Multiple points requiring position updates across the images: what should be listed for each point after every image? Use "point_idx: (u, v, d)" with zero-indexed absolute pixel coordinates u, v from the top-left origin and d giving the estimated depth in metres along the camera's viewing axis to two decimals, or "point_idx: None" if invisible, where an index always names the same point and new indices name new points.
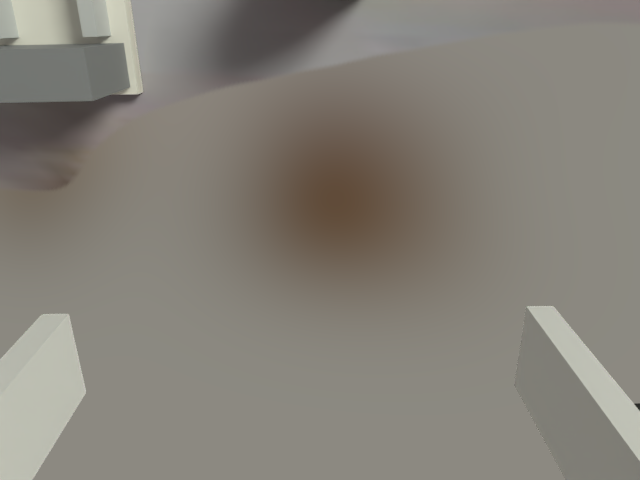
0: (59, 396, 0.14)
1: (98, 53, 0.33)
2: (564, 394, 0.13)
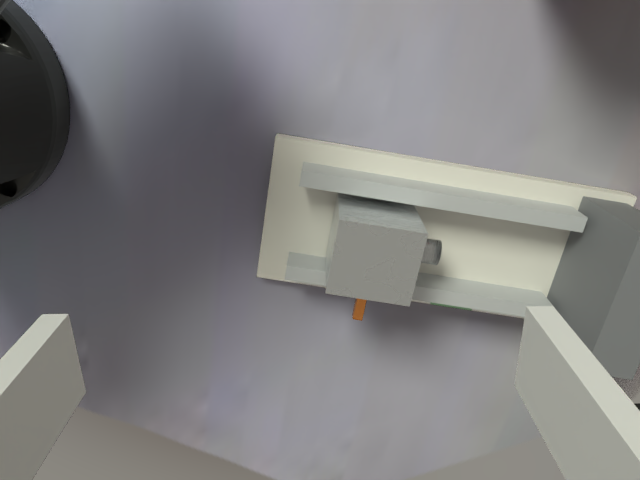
0: (59, 396, 0.14)
1: (628, 221, 0.31)
2: (563, 394, 0.13)
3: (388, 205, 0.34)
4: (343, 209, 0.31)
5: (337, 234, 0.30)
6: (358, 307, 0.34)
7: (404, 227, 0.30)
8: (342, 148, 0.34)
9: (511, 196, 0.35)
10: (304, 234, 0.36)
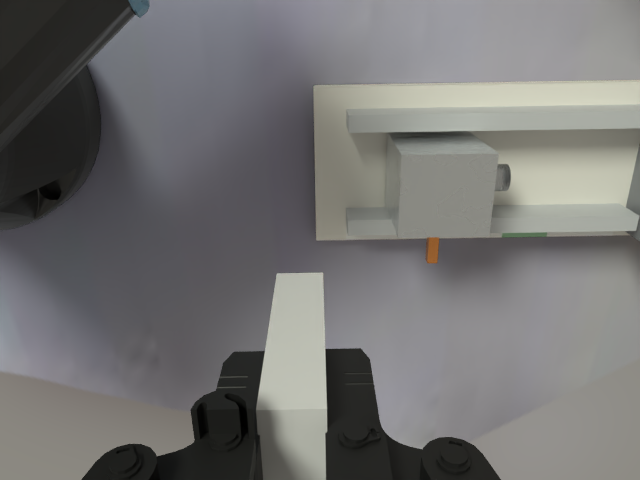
0: None
1: None
2: None
3: (445, 136, 0.31)
4: (401, 146, 0.29)
5: (401, 171, 0.28)
6: (431, 249, 0.32)
7: (471, 151, 0.28)
8: (385, 87, 0.32)
9: (573, 105, 0.33)
10: (359, 186, 0.35)
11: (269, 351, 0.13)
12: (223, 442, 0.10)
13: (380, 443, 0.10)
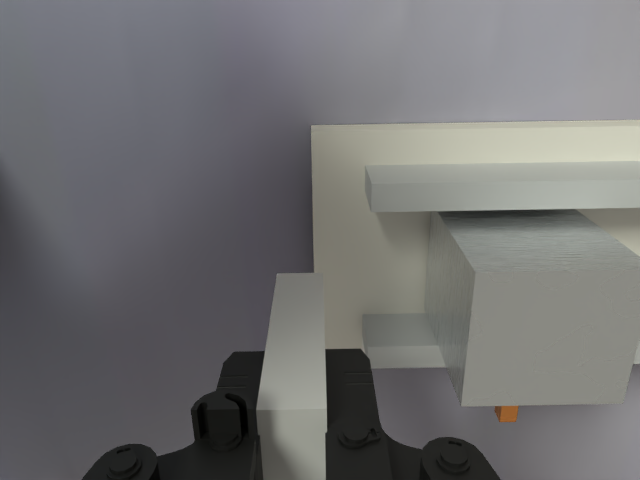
0: None
1: None
2: None
3: (532, 215, 0.19)
4: (467, 245, 0.16)
5: (474, 300, 0.15)
6: None
7: (602, 262, 0.15)
8: (430, 130, 0.20)
9: None
10: (383, 283, 0.22)
11: (269, 351, 0.13)
12: (223, 442, 0.10)
13: (380, 443, 0.10)
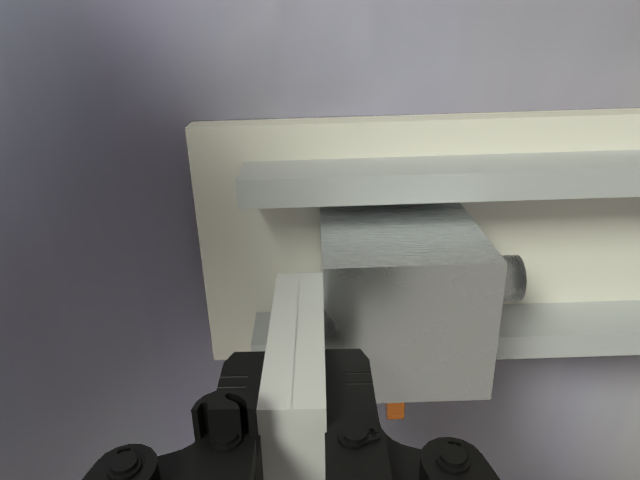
0: None
1: None
2: None
3: (412, 210, 0.18)
4: (330, 241, 0.16)
5: (325, 297, 0.15)
6: None
7: (456, 256, 0.15)
8: (306, 125, 0.19)
9: (620, 150, 0.20)
10: (274, 281, 0.22)
11: (269, 351, 0.13)
12: (224, 442, 0.10)
13: (379, 443, 0.10)
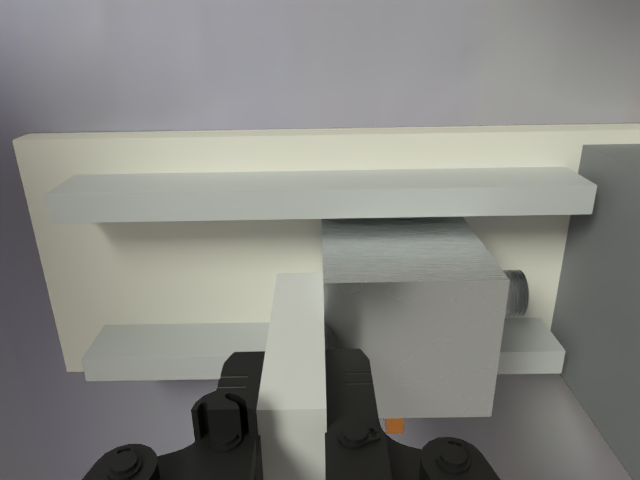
0: None
1: None
2: None
3: (415, 223, 0.18)
4: (330, 254, 0.16)
5: (325, 311, 0.15)
6: None
7: (458, 272, 0.15)
8: (134, 139, 0.19)
9: (453, 168, 0.19)
10: (119, 294, 0.22)
11: (269, 351, 0.13)
12: (224, 442, 0.10)
13: (380, 443, 0.10)
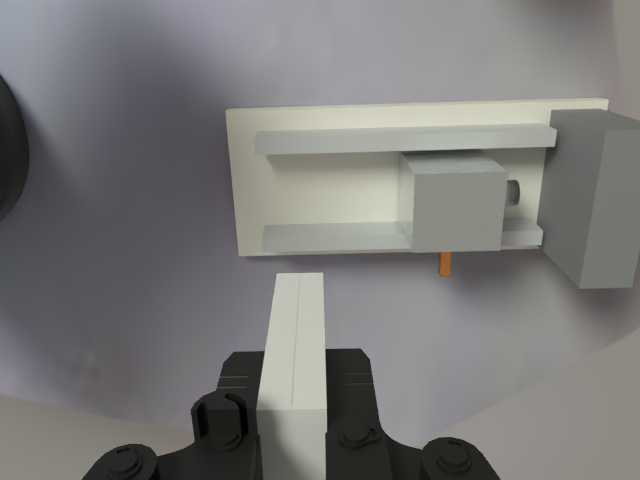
0: None
1: (595, 123, 0.29)
2: None
3: (455, 154, 0.33)
4: (414, 165, 0.30)
5: (415, 190, 0.29)
6: (444, 263, 0.33)
7: (482, 170, 0.29)
8: (294, 109, 0.34)
9: (476, 124, 0.34)
10: (276, 204, 0.36)
11: (269, 351, 0.13)
12: (223, 442, 0.10)
13: (380, 443, 0.10)
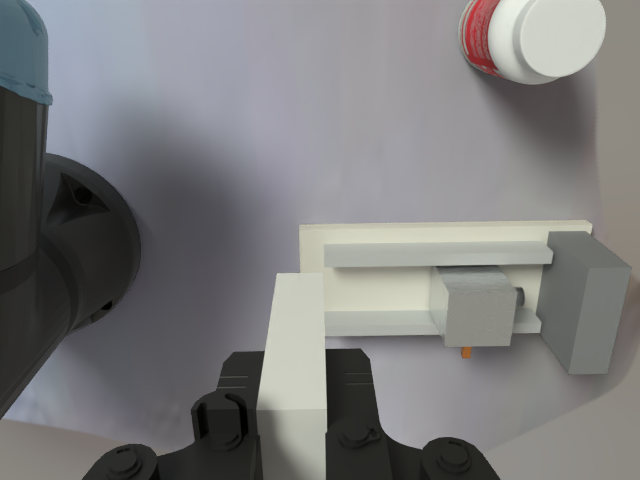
0: None
1: (581, 255, 0.39)
2: None
3: (476, 267, 0.43)
4: (446, 281, 0.41)
5: (448, 303, 0.39)
6: (466, 348, 0.43)
7: (498, 289, 0.39)
8: (352, 229, 0.44)
9: (491, 241, 0.44)
10: (334, 296, 0.46)
11: (269, 351, 0.13)
12: (223, 442, 0.10)
13: (380, 443, 0.10)
